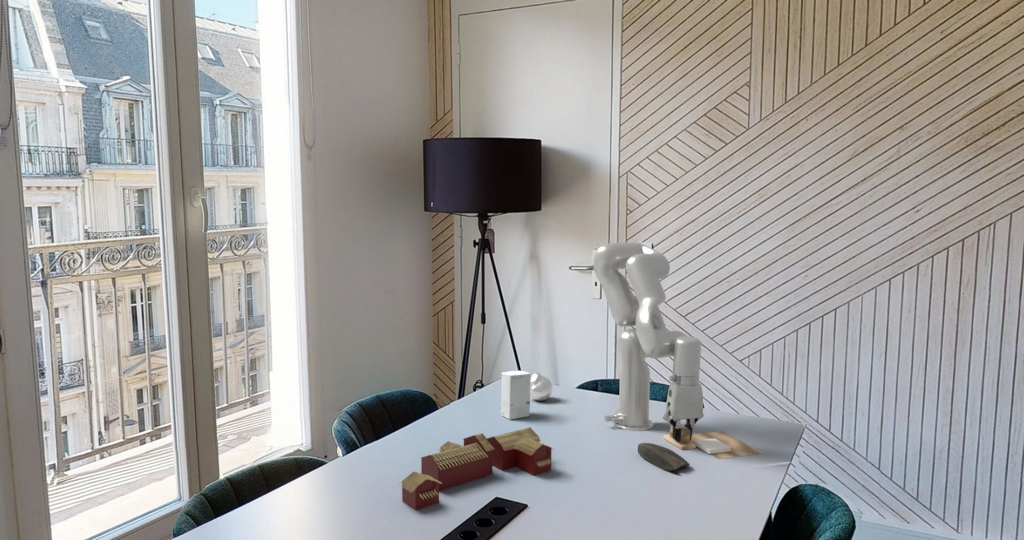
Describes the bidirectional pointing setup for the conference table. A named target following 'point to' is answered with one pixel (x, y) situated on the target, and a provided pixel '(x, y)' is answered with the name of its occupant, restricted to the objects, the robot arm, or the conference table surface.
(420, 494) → the toy houses
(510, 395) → the skincare box
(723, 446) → the tile
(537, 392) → the ghost figurine
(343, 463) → the conference table surface
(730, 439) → the cork mat
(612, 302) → the robot arm
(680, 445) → the wooden float
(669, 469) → the decorative stone
